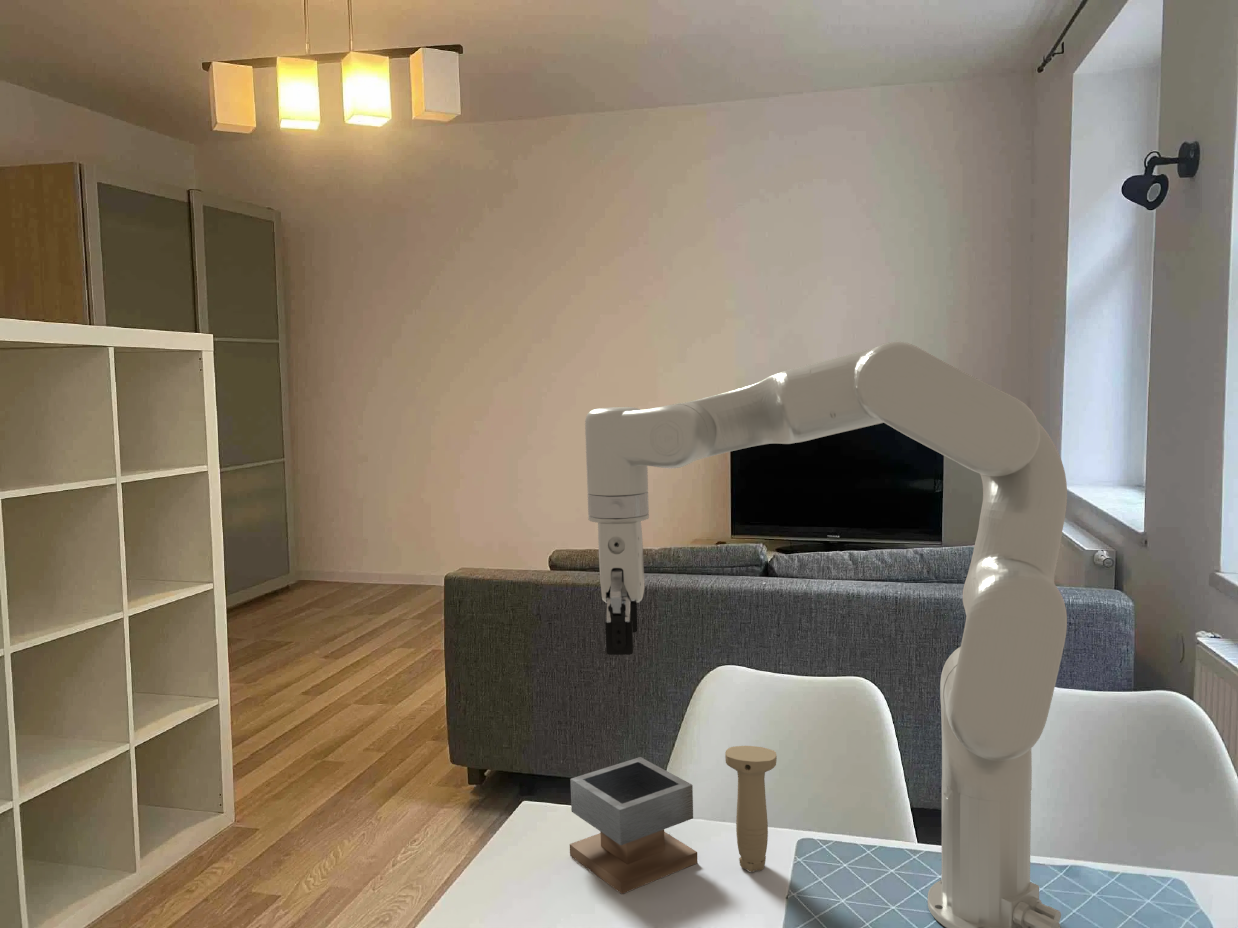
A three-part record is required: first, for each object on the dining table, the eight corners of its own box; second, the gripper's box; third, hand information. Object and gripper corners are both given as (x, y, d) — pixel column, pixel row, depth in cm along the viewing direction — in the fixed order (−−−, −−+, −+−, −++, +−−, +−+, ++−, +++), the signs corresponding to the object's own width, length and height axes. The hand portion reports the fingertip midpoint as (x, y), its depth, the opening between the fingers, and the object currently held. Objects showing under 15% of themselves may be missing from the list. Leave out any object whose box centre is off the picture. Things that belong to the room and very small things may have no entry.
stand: (697, 862, 121) (696, 818, 120) (621, 893, 114) (620, 846, 114) (642, 827, 131) (641, 786, 130) (569, 854, 124) (568, 811, 124)
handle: (775, 879, 117) (773, 763, 115) (724, 872, 118) (722, 758, 117) (780, 860, 121) (778, 748, 120) (731, 854, 123) (729, 743, 122)
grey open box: (693, 818, 121) (692, 784, 120) (620, 845, 114) (619, 809, 114) (641, 788, 130) (640, 756, 130) (571, 811, 123) (570, 778, 123)
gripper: (645, 517, 107) (649, 663, 108) (651, 497, 124) (654, 624, 125) (580, 518, 107) (585, 663, 109) (594, 498, 124) (599, 624, 126)
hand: (622, 642), depth 117 cm, fingers open, 9 cm apart
